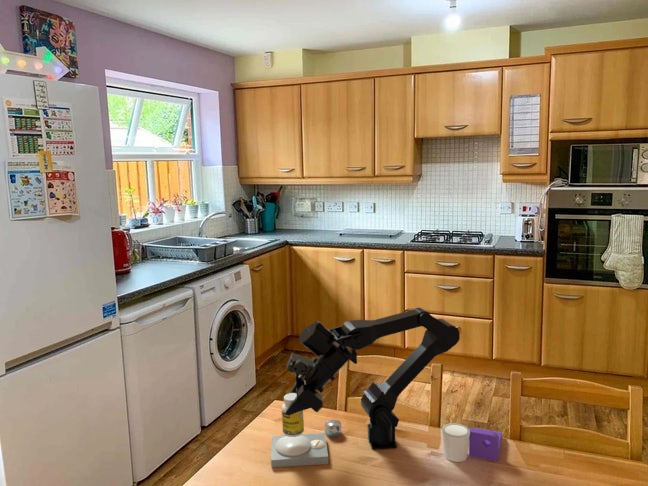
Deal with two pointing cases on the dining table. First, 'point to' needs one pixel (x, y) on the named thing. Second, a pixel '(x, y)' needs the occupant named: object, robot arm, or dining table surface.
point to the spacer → (332, 428)
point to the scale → (299, 450)
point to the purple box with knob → (484, 443)
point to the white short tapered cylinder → (455, 441)
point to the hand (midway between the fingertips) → (286, 408)
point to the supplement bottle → (291, 418)
